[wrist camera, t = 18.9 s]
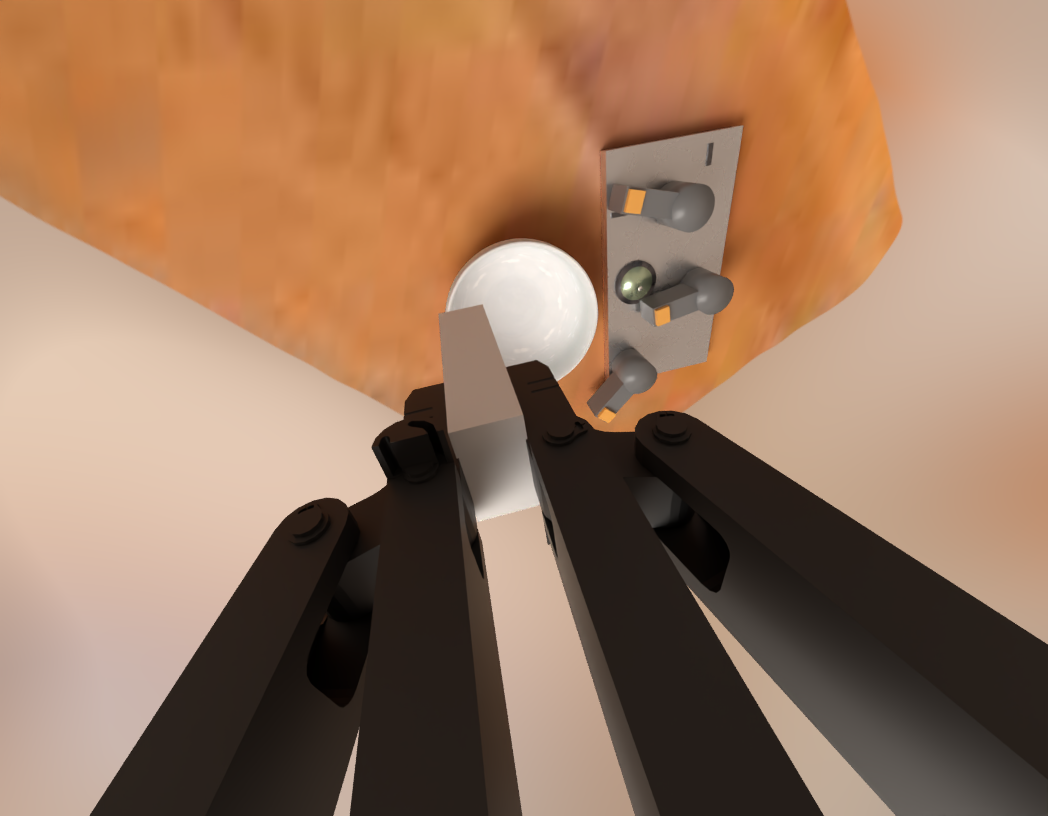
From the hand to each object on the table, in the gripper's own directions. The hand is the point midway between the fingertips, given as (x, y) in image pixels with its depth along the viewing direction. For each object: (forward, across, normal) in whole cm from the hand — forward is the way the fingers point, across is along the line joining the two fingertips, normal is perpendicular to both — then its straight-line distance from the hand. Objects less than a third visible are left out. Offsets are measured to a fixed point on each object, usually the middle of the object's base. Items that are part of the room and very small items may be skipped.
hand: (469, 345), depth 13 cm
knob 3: (+31, +26, -13) cm, 43 cm away
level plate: (+32, +25, -11) cm, 42 cm away
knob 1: (+31, +18, -24) cm, 43 cm away
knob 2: (+31, +22, -2) cm, 38 cm away
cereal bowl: (+33, +6, -11) cm, 35 cm away
